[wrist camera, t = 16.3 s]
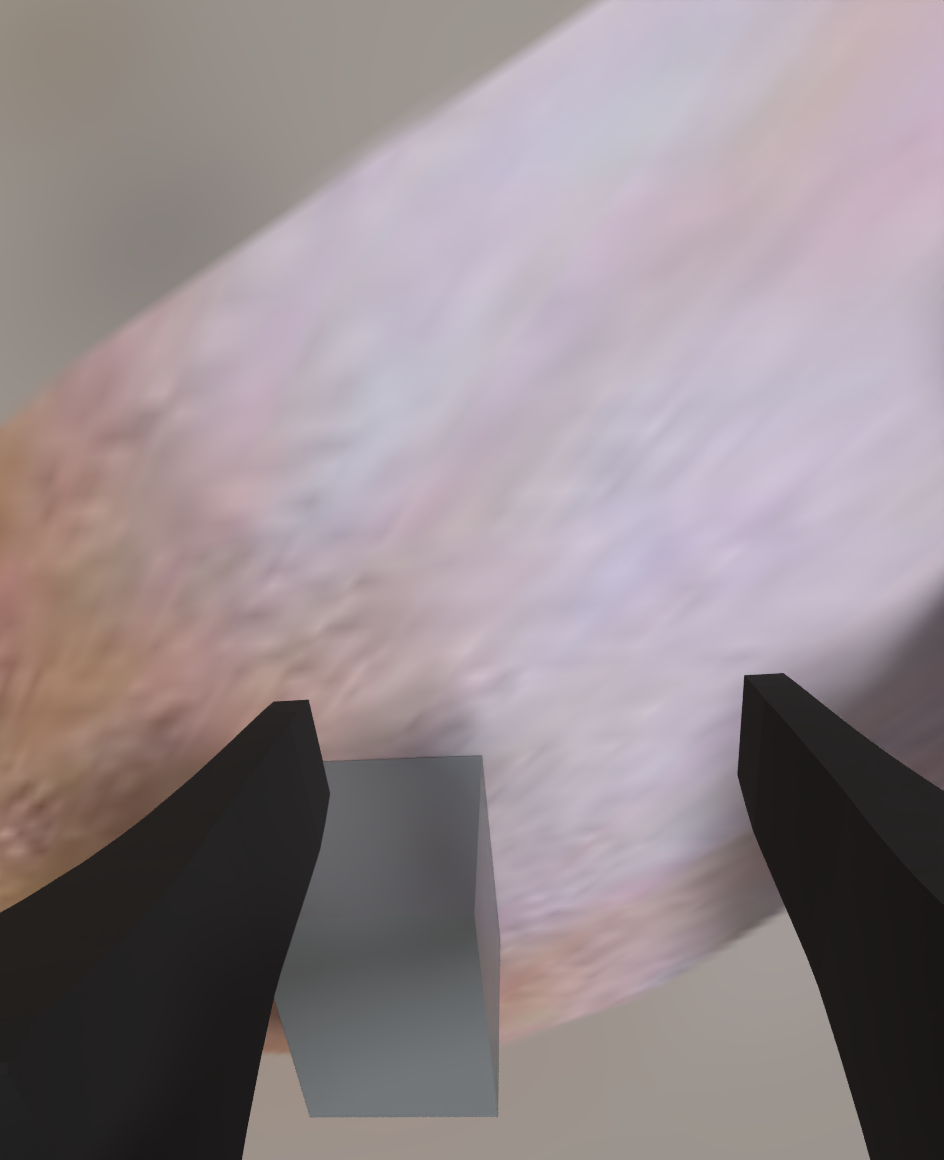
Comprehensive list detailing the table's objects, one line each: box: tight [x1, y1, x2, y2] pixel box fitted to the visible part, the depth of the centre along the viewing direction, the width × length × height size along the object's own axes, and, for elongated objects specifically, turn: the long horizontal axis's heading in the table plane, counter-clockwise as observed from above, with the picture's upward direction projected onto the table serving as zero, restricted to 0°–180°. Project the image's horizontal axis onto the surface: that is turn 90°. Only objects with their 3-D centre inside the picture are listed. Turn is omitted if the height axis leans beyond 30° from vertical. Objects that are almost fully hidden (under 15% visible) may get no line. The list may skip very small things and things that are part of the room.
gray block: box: [274, 756, 500, 1117], centre depth 25 cm, size 6×9×6 cm, turn 5°
